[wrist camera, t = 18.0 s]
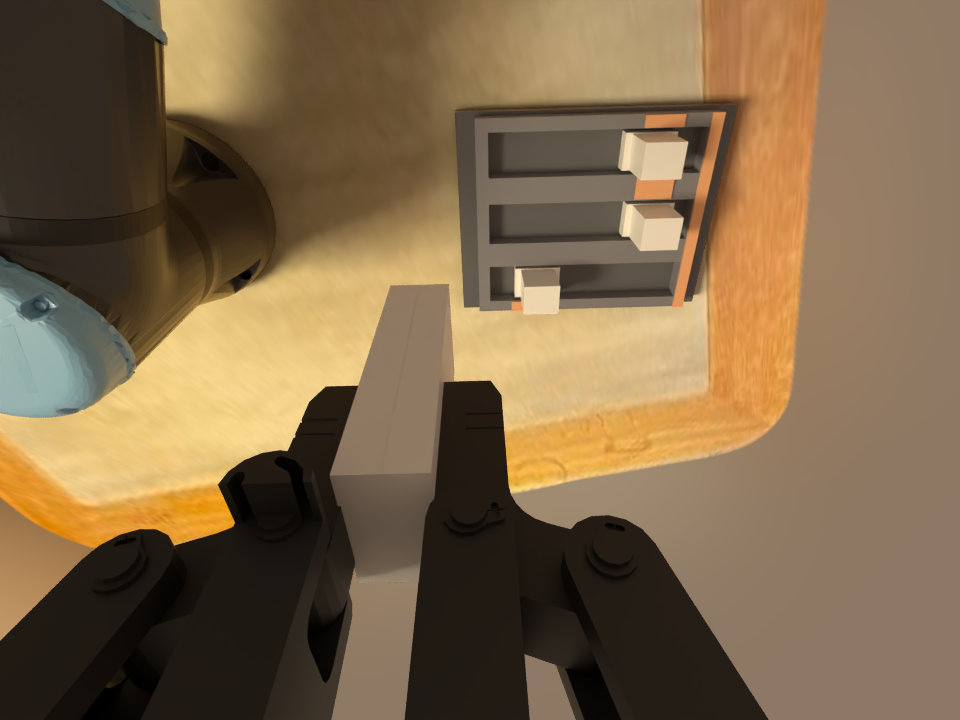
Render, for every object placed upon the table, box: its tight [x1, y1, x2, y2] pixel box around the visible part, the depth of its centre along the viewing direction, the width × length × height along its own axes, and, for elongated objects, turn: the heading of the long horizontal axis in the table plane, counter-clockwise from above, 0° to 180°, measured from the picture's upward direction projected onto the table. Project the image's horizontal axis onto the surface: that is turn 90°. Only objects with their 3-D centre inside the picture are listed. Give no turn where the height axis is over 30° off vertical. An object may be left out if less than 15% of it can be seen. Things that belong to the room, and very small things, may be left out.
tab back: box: [514, 265, 560, 315], centre depth 44 cm, size 4×3×5 cm
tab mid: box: [619, 200, 684, 251], centre depth 41 cm, size 4×3×5 cm
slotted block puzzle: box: [455, 103, 738, 311], centre depth 43 cm, size 22×17×3 cm
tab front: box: [618, 129, 688, 180], centre depth 38 cm, size 4×3×5 cm
